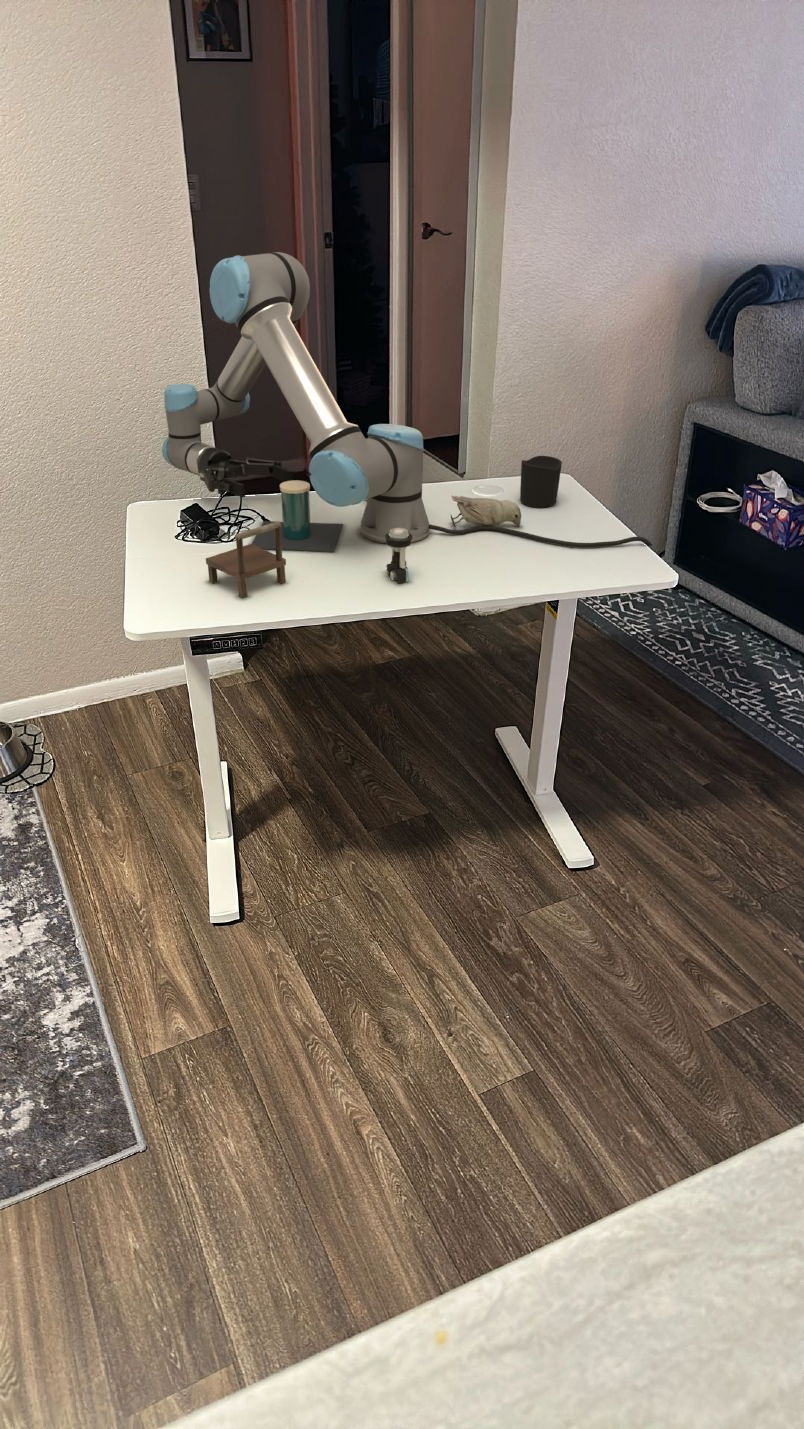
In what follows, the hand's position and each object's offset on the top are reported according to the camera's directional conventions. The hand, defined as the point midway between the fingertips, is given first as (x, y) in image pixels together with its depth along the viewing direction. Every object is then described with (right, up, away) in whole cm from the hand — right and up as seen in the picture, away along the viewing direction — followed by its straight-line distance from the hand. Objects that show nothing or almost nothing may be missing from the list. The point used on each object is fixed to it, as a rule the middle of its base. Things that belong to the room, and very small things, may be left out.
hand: (268, 484), depth 208 cm
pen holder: (+62, +1, +21) cm, 66 cm away
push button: (+28, -23, -18) cm, 41 cm away
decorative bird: (+48, -8, +6) cm, 49 cm away
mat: (+6, -12, 0) cm, 13 cm away
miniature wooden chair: (-1, -24, -21) cm, 32 cm away
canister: (+6, -11, 0) cm, 13 cm away
